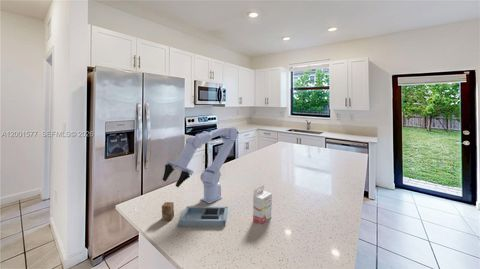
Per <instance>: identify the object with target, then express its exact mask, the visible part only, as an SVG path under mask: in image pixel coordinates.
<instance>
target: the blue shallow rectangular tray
mask: <svg viewBox="0 0 480 269" xmlns="http://www.w3.org/2000/svg"><path fill="white" fill-rule="evenodd" d="M228 209H229V208H228V206H186V207H185V209H184V211H183V212H182V214H181V216H180V218H179V220H178V226H179V227H226V224H227V218H228V217H227V216H228V211H229V210H228Z"/></svg>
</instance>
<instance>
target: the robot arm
mask: <svg viewBox="0 0 480 269" xmlns="http://www.w3.org/2000/svg"><path fill="white" fill-rule="evenodd" d="M219 136H220V139H221V141H222V142H223V144H222V146H221V147H220V150H218V153H217V155H216V156H215V157H214V159H213V162H212V163H211V165H210V166H208V167H206V168H205V169H204V170H203V171H202V172H201V174H200V176H199V177H200V178H199V179H200V181H201V182H202V185H203V197H201V198H200V200H201V201H203V202H204V203H208V204H212V203H214V202H217V201H219V200H221V199H222V198H223V196H222V185H221V183H220V178H221V176H222V173H221V171H220V170H221V169H222V166H223V165H224V163H225V161H226V160H227V157H228V156H229V154H230V152H231V150H232V149H233V146H234V145H235V141H236V139H237V137H238V136H239V134H238V129H237V127H235V126H223V125H222V126H220V127H218V128H216V129H214V130H212V131H205V130H204V131H202V132H201V133H197V134H195V136H193V135H190V136H188V138H186V139H185V145H184V148H183V149H182V151H181V152H180V154H179V156H178V158H177V159H176V160H175V162H174V161H170V160H167V161H166V162H165V165H164V174H163V177H162V181H164V182H166V181H167V180H168V178H169V176H170V175H171V174H172V173H173V171H175V170H176V169H177V170H178V171H180V175H179V177H178V179H177V182H176V183H175V185H174V186H175V187H176V188H180V186H181V185H182V184H183V183H184V182H185V181H187V180H188V179H189V178H190V177H191V176H192V175H193V174H194V171H193V169H191V168H188V165H189V164H190V162H191V161H192V159H193V157H194V155H195V153H196V151H197V149H201V147H202V146H203V145H205V144H207V143H209V142H211V141H212V139H214V138H216V137H219Z"/></svg>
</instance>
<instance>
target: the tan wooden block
mask: <svg viewBox="0 0 480 269" xmlns="http://www.w3.org/2000/svg"><path fill="white" fill-rule="evenodd" d="M174 207H175V206H174V202H173V201H164V203H163V204H162V205H161V218H162V220H161V221H164V222H165V221H167V222H168V221H169V222H170V221H171V222H172V221H173V219H174V217H175V210H174V209H175V208H174Z"/></svg>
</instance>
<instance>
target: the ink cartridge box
mask: <svg viewBox="0 0 480 269" xmlns="http://www.w3.org/2000/svg"><path fill="white" fill-rule="evenodd" d="M264 188H265V184H263V185H261V186H259V187H257V188H254V189H253V201H252V209H253V210H252V221H253V222H255V223H257V224H261V225H263V224H264V223H266V221H268V220H269V219H270V218H272V208H273V207H272V201H273V200H272V199H273V193H272V192H269V191H266V190H265V189H264Z"/></svg>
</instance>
